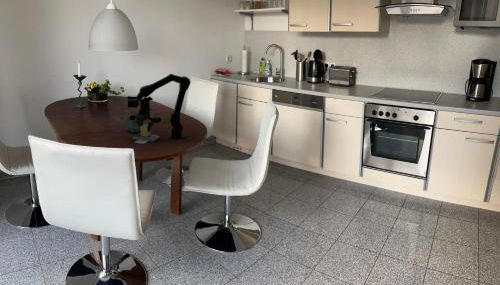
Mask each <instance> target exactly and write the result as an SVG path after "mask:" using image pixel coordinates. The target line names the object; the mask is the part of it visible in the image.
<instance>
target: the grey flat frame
mask: <svg viewBox="0 0 500 285" xmlns="http://www.w3.org/2000/svg"><path fill="white" fill-rule="evenodd" d="M131 138H132V139H133V140H136V141H137V140H139V139H142V140H149V141H148V142H155V141H157V140H158V139H159V138H160V135H157V134H151V136H149V137H141V132H137V133H136V134H135V135H133V136H132V137H131Z"/></svg>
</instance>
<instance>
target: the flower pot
mask: <svg viewBox="0 0 500 285" xmlns="http://www.w3.org/2000/svg"><path fill="white" fill-rule="evenodd" d="M124 120H125V125H126V126H125V127H126V128H127V130H128V131H129V132H130V133H141V129H140V127H139V125H138V123H137V122H135V120H134V121H133V120H129V117H125V118H124Z"/></svg>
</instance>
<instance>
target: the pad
mask: <svg viewBox="0 0 500 285" xmlns="http://www.w3.org/2000/svg"><path fill="white" fill-rule="evenodd" d="M148 142H150V141H149V140H142V139H139V140H137V139H136V141H134V143H136V144H141V145H142V144H143V145H144V144H147V143H148Z"/></svg>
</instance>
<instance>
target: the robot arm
mask: <svg viewBox="0 0 500 285" xmlns="http://www.w3.org/2000/svg"><path fill="white" fill-rule="evenodd" d="M171 82H174V83H176V84H178V85H179V86H178V88H179V89H178V94H177V96H176V101H175V104H174V109H173V111H172V113H171V112H170V113H169V117H168V121H169V124H170V126H171V127H172V128H171V131H170V132H171V133H170V134H171V135H170V136H171V137H170V138H171V139H175V140H176V139H179V140H181V139H182V138H184V137H185V136H184V125H183V124H182V123H181V110H182V108H183V103H184V99H185V96H186V92H187V91H188V89H189V87H190V85H191V79H190V78H189V77H187V76H184V75H183V76H180V75H176V74H173V73H170V74H168V75H166V76H165V77H163V78H160V79H159V80H157V81H155V82H153V83H150V84H147V85H143V86H141V87H140V88H139V92H138V93H137V95H136V96H130V95H129V96H127V101H126V102H127V103H126V104H127V108H133V109H135V108H138V107H139V110H138V113H137V114H136V113H134V114H131V115H129V117H128V118H129V120H133V121H134V120H135V122H137V123H138V125H139V127H140V126H141V125H143V124H144V122H145V121H148V122H147V124H148V131H149V132H150V131H152V127H153V126H154V124H158V123H160V122H162V118H161V116H155V115H154V116H153V117H152V115H151V111H152V110H151V109H152V108H151V105H150V104H151V101H154V99H153V98H152V97H151V95H152V94H153V93H154V92H155V91H156V90H158V89H160V88H162V87H164V86H166V85H167V84H169V83H171Z"/></svg>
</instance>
